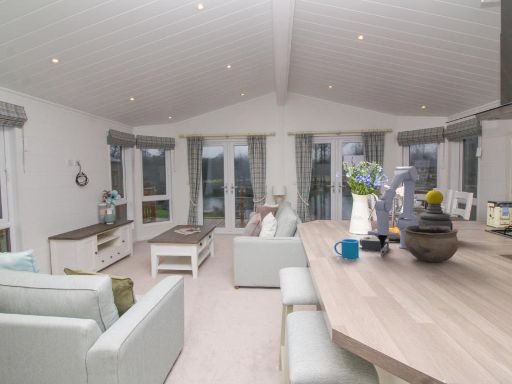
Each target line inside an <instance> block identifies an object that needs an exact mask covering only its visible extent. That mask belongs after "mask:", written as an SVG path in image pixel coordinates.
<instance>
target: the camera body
mask: <svg viewBox="0 0 512 384" xmlns="http://www.w3.org/2000/svg"><path fill="white" fill-rule="evenodd" d="M386 244H388V251H389V250H390V239H389V238H386V240H385V243H384V246H385V245H386ZM359 246H361V250H366V249H368V250H369V251H379V252H381V243H380V240H379V238H378V237H370V236H366V237H363V238H360V239H359Z"/></svg>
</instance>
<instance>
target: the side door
mask: <svg viewBox="0 0 512 384" xmlns="http://www.w3.org/2000/svg"><path fill="white" fill-rule="evenodd" d="M387 252H389V250H388V244H386V245H385V246H384V247H383V248H381V251H380V257H383V256H384V255H385V254H386V253H387Z"/></svg>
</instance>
